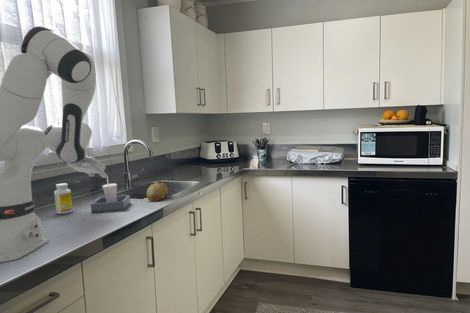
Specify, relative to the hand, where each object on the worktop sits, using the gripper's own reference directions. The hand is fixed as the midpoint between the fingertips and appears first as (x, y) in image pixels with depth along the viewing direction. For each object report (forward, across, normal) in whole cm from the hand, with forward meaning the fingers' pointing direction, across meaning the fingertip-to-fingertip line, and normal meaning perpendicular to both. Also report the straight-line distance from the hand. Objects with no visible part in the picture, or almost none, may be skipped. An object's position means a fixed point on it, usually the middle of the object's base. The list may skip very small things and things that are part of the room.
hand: (99, 176), depth 155 cm
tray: (+14, -1, +8) cm, 16 cm away
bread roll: (+31, -5, -9) cm, 33 cm away
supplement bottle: (+3, +12, +19) cm, 23 cm away
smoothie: (+14, -1, +7) cm, 15 cm away
